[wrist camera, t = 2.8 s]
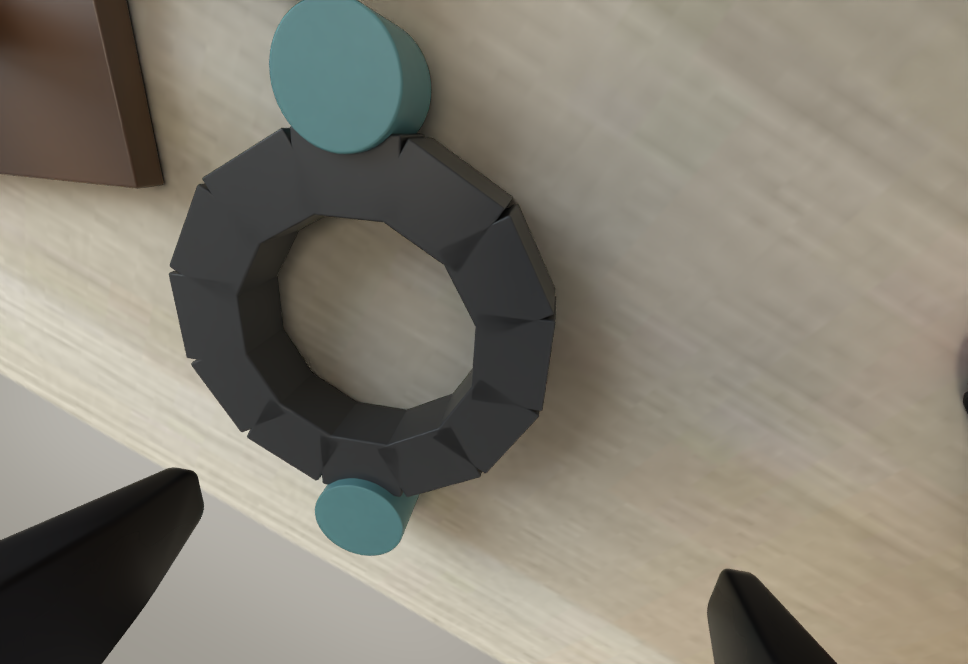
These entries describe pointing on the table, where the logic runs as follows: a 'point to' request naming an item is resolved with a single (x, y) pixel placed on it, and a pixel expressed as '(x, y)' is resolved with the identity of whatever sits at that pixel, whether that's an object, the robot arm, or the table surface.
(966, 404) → the race car
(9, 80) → the stand
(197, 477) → the robot arm
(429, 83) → the grey faceted ring
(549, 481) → the table surface
